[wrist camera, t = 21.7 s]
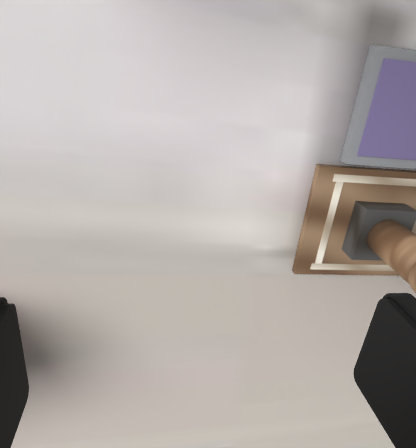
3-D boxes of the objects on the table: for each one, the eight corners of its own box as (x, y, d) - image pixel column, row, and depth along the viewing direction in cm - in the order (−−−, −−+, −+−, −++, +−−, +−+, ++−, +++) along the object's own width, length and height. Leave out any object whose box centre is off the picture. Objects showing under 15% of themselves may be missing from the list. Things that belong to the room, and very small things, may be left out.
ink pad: (369, 45, 34) (378, 44, 32) (472, 58, 35) (484, 58, 34) (340, 160, 38) (346, 164, 37) (432, 167, 40) (442, 171, 39)
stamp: (355, 200, 39) (436, 259, 28) (404, 203, 40) (502, 261, 29) (341, 249, 42) (410, 321, 31) (388, 250, 43) (472, 320, 32)
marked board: (316, 164, 38) (320, 166, 37) (450, 173, 40) (456, 175, 40) (292, 270, 43) (294, 274, 42) (411, 272, 46) (416, 276, 45)
